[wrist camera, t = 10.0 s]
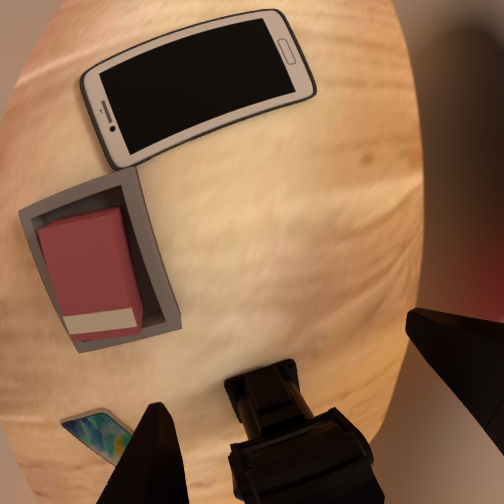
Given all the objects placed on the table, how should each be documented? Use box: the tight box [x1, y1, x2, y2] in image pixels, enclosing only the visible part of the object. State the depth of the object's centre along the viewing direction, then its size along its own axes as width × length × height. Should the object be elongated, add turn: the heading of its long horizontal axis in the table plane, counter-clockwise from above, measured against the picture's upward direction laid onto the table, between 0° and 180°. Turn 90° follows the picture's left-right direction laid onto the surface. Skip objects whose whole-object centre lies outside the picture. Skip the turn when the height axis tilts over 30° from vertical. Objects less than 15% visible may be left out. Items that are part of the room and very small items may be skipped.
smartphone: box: [61, 408, 134, 467], centre depth 23 cm, size 7×1×15 cm
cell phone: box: [79, 9, 317, 171], centre depth 15 cm, size 8×15×1 cm, turn 112°
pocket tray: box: [18, 166, 182, 353], centre depth 16 cm, size 11×8×2 cm
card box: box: [38, 205, 144, 342], centre depth 15 cm, size 7×4×4 cm, turn 4°
